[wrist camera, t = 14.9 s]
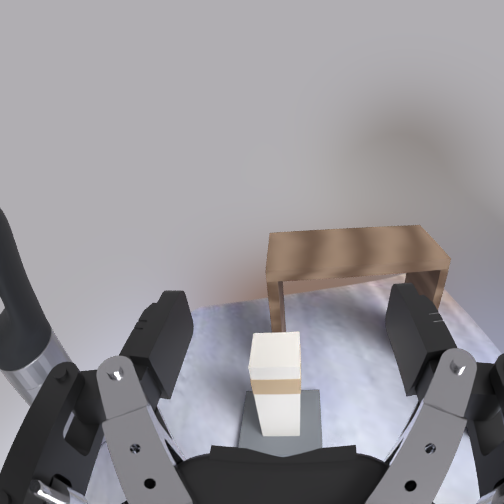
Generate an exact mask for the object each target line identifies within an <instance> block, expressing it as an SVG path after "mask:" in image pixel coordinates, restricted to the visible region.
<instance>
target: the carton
mask: <svg viewBox="0 0 504 504" xmlns="http://www.w3.org/2000/svg"><path fill="white" fill-rule="evenodd" d="M248 368H249V373H250V381H251V386H252V391H253V394H254V397H255V402H256V407H257V412H258V416H259V421H260V426H261V430H262V435H263V436H300V394H301V356H300V333H299V332H279V333H253V340H252V346H251V353H250V360H249V367H248Z"/></svg>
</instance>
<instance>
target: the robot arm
mask: <svg viewBox="0 0 504 504" xmlns="http://www.w3.org/2000/svg"><path fill="white" fill-rule="evenodd" d="M0 297H1V299H2V301H3V303H4V306H5V309H4V310H3V312H2V313H1V314H0V371H1V372H2V373H3V374H4V376H5V377H6V378H7V380H8V381H9V382H10V384H11V385H12V386H13V387H14V388H15V390H16V391H17V392H18V393H19V394H20V395H21V397H22V398H23V399H24V400H25V401H26V402H27V404H28V405H29V406H30V409H29V411H28V413H27V415H26V417H25V419H24V421H23V423H22V425H21V427H20V429H19V431H18V433H17V435H16V438H15V440H14V442H13V444H12V446H11V449H10V451H9V453H8V456H7V458H6V460H5V463H4V465H3V468H2V470H1V473H0V504H88V503H87V500H86V499H85V497H84V496H85V493H86V490H87V486H88V483H89V480H90V477H91V473H92V470H93V467H94V464H95V461H96V458H97V455H98V452H99V449H100V446H101V445H102V444H103V443H104V442H105V441H106V442H107V445H108V449H109V452H110V455H111V458H112V461H113V464H114V467H115V470H116V473H117V476H118V478H119V481H120V484H121V486H122V489H123V492H124V494H125V497H126V499H127V500H126V501H125V502H123V503H122V504H435V503H433V500H434V498H435V496H436V494H437V492H438V490H439V488H440V487H441V484H442V482H443V480H444V478H445V476H446V474H447V472H448V470H449V467H450V465H451V463H452V461H453V458H454V456H455V453H456V451H457V448H458V446H459V443H460V441H461V438H462V435H463V432H464V430H465V427H466V425H467V429H468V433H469V437H470V442H471V446H472V451H473V456H474V461H475V466H476V472H477V478H478V485H479V492H480V499H479V500H478V502H477V503H476V504H504V424H503V421H502V417H501V414H500V409H501V411H502V414H503V417H504V354H502V355H500V356H499V357H498V359H497V360H496V362H495V364H491V363H479V362H476V361H475V359H474V357H473V356H472V355H471V354H470V353H469V352H467V351H465V350H463V349H459V348H457V346H456V344H455V342H454V340H453V338H452V336H451V334H450V332H449V330H448V328H447V326H446V325H445V323H444V321H443V319H442V317H441V315H440V314H439V313H438V310H437V308H436V306H435V305H434V303H433V302H432V301H431V300H430V299H429V298H427V297H426V296H425V295H419V294H418V292H417V290H416V288H415V286H414V285H413V284H412V283H401V284H393V286H392V288H391V293H390V298H389V303H388V308H387V312H386V318H385V324H386V330H387V333H388V336H389V339H390V342H391V345H392V349H393V352H394V355H395V358H396V361H397V364H398V368H399V371H400V375H401V378H402V381H403V385H404V388H405V392H406V396H412V395H417V397H418V402H417V404H416V406H415V408H414V410H413V412H412V414H411V416H410V417H409V419H408V421H407V423H406V425H405V427H404V429H403V431H402V432H401V434H400V436H399V438H398V440H397V441H396V443H395V445H394V446H393V448H392V449H391V451H390V452H389V454H388V455H387V457H386V458H385V460H384V461H381V460H379V459H377V458H375V457H372V456H369V455H364V454H359V453H356V445H351V446H341V447H329V448H319V449H315V450H312V451H308V452H304V453H300V454H296V455H292V456H287V457H278V456H274V455H270V454H266V453H262V452H258V451H255V450H251V449H247V448H236V447H224V446H214V445H212V446H211V451H210V453H209V454H203V455H198V456H195V457H192V458H189V459H187V460H186V459H185V457H184V455H183V454H182V452H181V451H180V449H179V448H178V446H177V444H176V442H175V440H174V438H173V436H172V434H171V432H170V430H169V428H168V426H167V424H166V422H165V420H164V418H163V416H162V414H161V411H160V409H159V407H158V406H157V404H158V401H159V399H160V398H164V399H171V396H172V393H173V390H174V387H175V384H176V381H177V378H178V375H179V372H180V369H181V366H182V364H183V361H184V358H185V355H186V352H187V349H188V346H189V344H190V341H191V338H192V335H193V319H192V316H191V312H190V309H189V305H188V302H187V299H186V295H185V293H184V291H164V292H163V293H162V295H161V297H160V299H159V301H158V302H157V303H152V304H151V305H150V306H149V307H148V308H147V309H145V310H144V312H143V313H142V315H141V317H140V318H139V322H137V323H136V325H135V327H134V329H133V331H132V332H131V334H130V336H129V338H128V339H127V341H126V343H125V345H124V347H123V349H122V350H121V353H120V354H119V356H114V357H111V358H108V359H107V360H105V361H104V362H103V363H102V364H101V365H100V366H99V368H98V370H89V371H79V369H78V368H77V366H76V365H75V364H74V363H73V362H72V361H71V359H70V357H69V356H68V354H67V353H66V351H65V350H64V348H63V346H62V345H61V343H60V342H59V340H58V338H57V336H56V335H55V333H54V331H53V330H52V328H51V326H50V324H49V322H48V321H47V319H46V317H45V315H44V313H43V311H42V309H41V306H40V304H39V302H38V300H37V297H36V295H35V293H34V291H33V289H32V287H31V284H30V282H29V280H28V277H27V275H26V272H25V270H24V267H23V264H22V261H21V258H20V255H19V252H18V249H17V246H16V243H15V240H14V237H13V234H12V231H11V228H10V226H9V223H8V220H7V218H6V217H5V215H4V213H3V211H2V210H1V209H0Z"/></svg>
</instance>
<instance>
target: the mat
mask: <svg viewBox="0 0 504 504" xmlns="http://www.w3.org/2000/svg"><path fill="white" fill-rule="evenodd" d="M238 448H247V449H251V450H255V451H258V452H262V453H266V454H270V455H274V456H278V457H287V456H292V455H296V454H300V453H304V452H308V451H312V450H315V449H319V448H322V429H321V409H320V392H319V390H304V391H301V394H300V436H263V435H262V430H261V426H260V421H259V416H258V412H257V407H256V402H255V397H254V394H253V391H246V398H245V405H244V412H243V419H242V425H241V432H240V439H239V445H238Z"/></svg>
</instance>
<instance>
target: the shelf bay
mask: <svg viewBox="0 0 504 504" xmlns="http://www.w3.org/2000/svg"><path fill="white" fill-rule="evenodd" d="M450 260H451V258H450V257H449V256H448V255H447V254H446V253H445V251H444V250H443V249H442V248H441V247H440V246H439V245H438V244H437V243H436V242H435V240H434V239H433V238H432V237H431V236H430V235H429V234H428V233H427V232H426V231H425V230H424V229H423V228H422V227H421V226H420V225H411V226H387V227H366V228H346V229H327V230H310V231H293V232H277V233H270V235H269V245H268V253H267V262H266V280H267V289H268V299H269V308H270V318H271V327H272V333H279V332H286V324H285V309H284V295H283V281H297V280H314V279H330V278H344V277H359V276H373V275H386V274H398V273H406V278H405V283H412V284H413V285H414V286H415V288H416V290H417V292H418V294H419V295H425V296H426V297H427V298H429V299H430V300H431V301H432V302H433V303H434V305H435V306H436V308H437V310H438V308H439V304H440V301H441V297H442V294H443V290H444V286H445V282H446V278H447V274H448V269H449V265H450Z"/></svg>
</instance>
